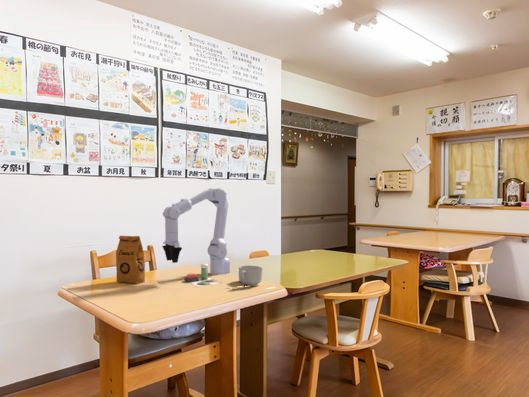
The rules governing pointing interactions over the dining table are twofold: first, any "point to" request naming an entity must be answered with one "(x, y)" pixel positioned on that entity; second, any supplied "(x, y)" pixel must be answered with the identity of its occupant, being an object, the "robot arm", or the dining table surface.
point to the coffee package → (130, 260)
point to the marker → (204, 271)
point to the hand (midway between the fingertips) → (172, 261)
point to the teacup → (250, 275)
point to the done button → (191, 276)
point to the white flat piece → (202, 281)
